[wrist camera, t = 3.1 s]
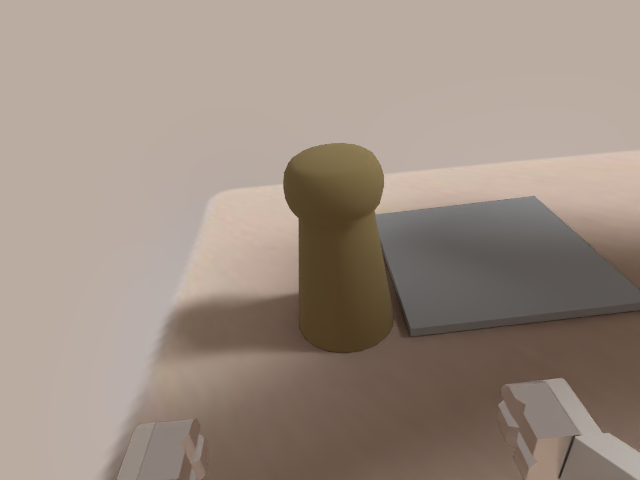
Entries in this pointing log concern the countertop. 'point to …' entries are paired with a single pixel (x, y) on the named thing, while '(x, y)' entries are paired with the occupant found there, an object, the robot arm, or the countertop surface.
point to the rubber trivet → (495, 267)
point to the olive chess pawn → (339, 247)
